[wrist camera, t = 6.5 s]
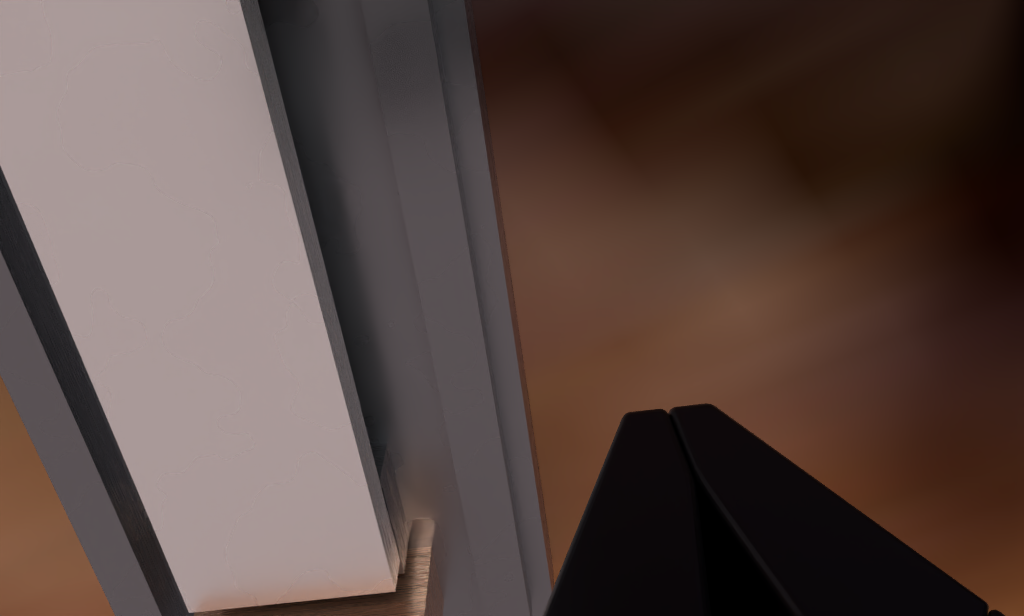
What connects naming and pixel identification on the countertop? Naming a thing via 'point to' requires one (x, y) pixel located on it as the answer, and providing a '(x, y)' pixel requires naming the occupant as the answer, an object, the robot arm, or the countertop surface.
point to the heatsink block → (349, 324)
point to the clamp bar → (196, 290)
